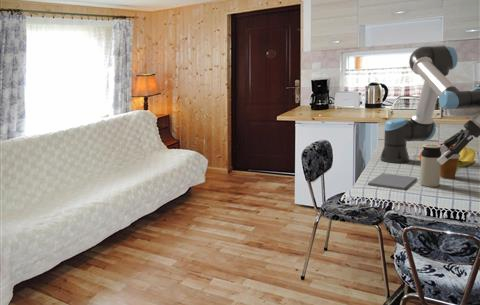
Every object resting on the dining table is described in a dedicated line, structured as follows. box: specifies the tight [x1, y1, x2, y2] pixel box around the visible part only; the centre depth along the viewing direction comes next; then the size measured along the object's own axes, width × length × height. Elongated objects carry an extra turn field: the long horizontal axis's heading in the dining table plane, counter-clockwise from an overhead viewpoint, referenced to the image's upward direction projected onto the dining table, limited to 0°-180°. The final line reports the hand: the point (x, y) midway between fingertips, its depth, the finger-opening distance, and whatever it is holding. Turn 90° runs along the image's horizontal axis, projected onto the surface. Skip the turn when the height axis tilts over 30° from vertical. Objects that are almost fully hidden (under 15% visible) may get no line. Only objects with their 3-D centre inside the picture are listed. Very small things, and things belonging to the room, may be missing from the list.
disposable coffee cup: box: [440, 150, 461, 180], centre depth 198 cm, size 10×10×12 cm
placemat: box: [367, 172, 417, 191], centre depth 193 cm, size 20×16×1 cm
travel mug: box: [419, 143, 442, 188], centre depth 186 cm, size 8×8×18 cm
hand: (436, 159), depth 184 cm, fingers open, 13 cm apart
